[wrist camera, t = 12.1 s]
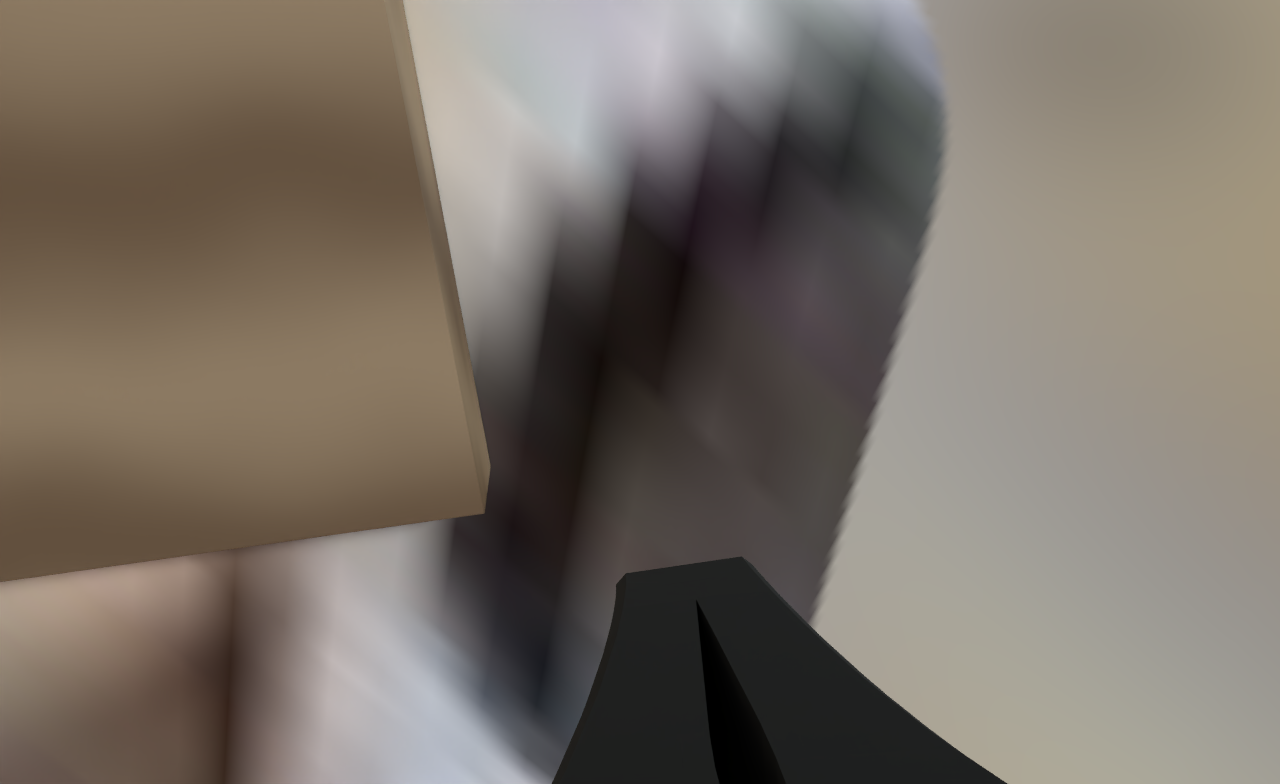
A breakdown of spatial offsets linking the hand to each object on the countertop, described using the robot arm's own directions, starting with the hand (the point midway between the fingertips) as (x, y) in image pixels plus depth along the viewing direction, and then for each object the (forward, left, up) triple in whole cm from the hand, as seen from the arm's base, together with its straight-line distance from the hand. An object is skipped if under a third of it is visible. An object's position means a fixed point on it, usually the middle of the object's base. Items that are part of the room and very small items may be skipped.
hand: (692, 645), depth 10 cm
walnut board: (+4, +8, -9) cm, 13 cm away
